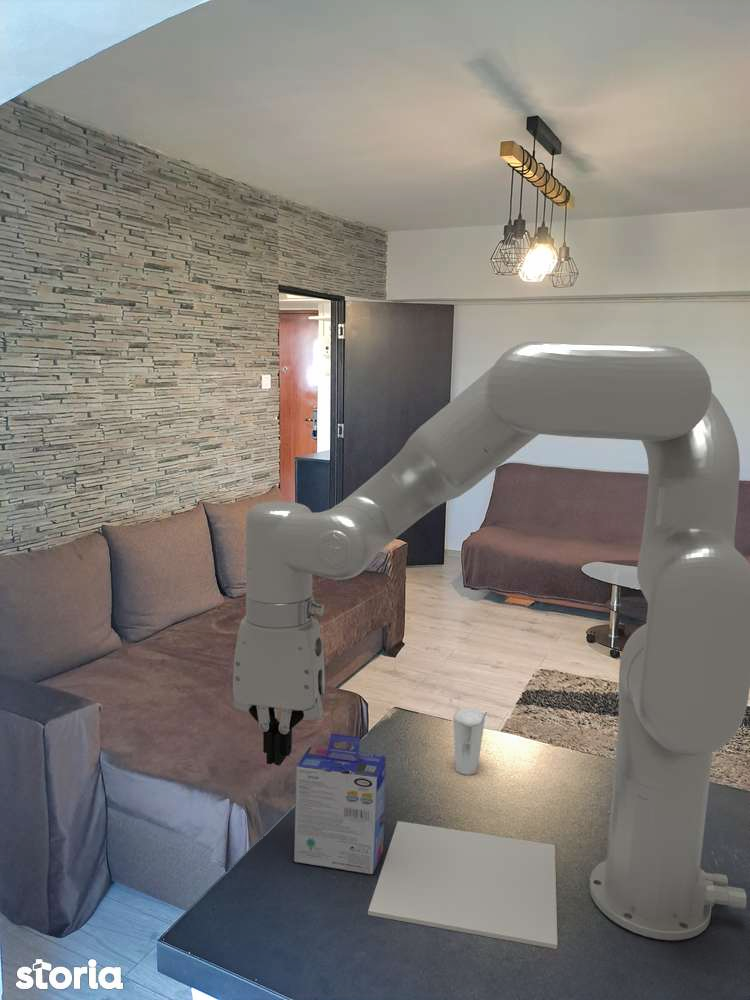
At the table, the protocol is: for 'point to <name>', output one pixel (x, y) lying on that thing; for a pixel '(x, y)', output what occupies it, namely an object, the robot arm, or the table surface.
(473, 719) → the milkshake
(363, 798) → the ink cartridge box
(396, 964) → the table surface
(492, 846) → the mat
